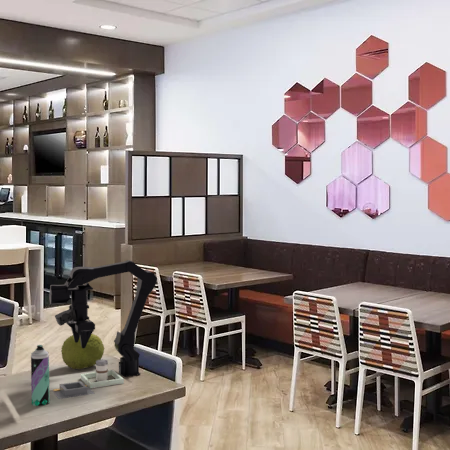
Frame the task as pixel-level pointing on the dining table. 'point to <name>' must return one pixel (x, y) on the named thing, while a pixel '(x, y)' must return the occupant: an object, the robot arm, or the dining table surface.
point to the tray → (101, 383)
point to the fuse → (101, 370)
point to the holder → (72, 390)
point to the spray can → (40, 376)
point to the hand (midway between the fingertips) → (79, 345)
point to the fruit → (82, 352)
